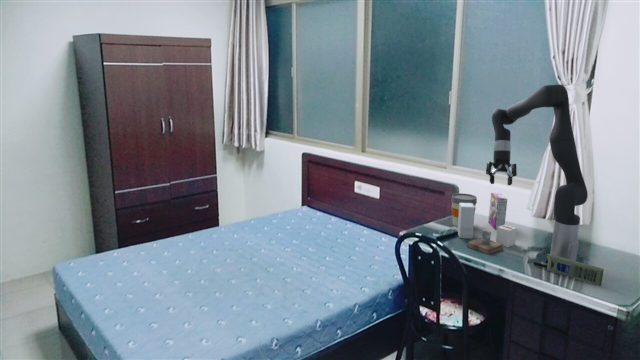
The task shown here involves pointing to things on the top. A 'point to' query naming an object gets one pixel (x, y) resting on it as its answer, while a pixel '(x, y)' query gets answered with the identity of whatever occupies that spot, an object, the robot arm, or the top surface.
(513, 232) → the white box
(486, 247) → the shaft base
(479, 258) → the top surface
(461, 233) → the skincare box
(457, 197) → the lidded canister
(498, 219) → the candy bar box
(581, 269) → the handheld radio
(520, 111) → the robot arm
